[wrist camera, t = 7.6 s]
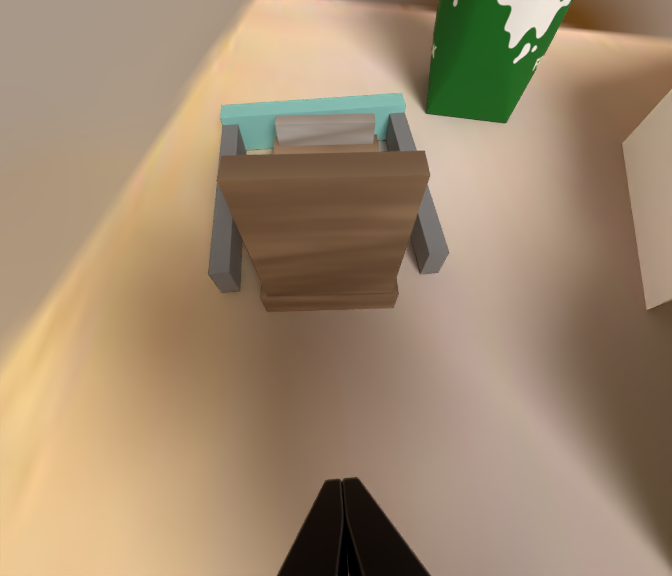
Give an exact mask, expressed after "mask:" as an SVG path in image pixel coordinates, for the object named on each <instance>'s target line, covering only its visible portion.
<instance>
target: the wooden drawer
mask: <svg viewBox="0 0 672 576" xmlns="http://www.w3.org/2000/svg"><path fill="white" fill-rule="evenodd" d="M275 127H276V132H277V137H275V139H274V151H273V154H269V155H229V156H221V161H220V166H219V171H218V176H217V182H218V185H219V187H220V189H221V191H222V194H223V196H224V198H225V201H226V203H227V205H228V207H229V210H230V212H231V214H232V216H233V219H234V221H235V223H236V226H237V228H238V230H239V232H240V235H241V237H242V239H243V241H244V244H245V246H246V248H247V251H248V253H249V255H250V257H251V260H252V262H253V264H254V266H255V269H256V271H257V273H258V276H259V278H260V280H261V282H262V287H261V300H262V302H263V304H264V306H265V308H266V310H267V312H278V311H311V310H344V309H377V308H393V307H394V305H395V302H396V299H397V297H398V294H399V293H398V286H397V278H396V277H397V274H398V271H399V268H400V265H401V262H402V259H403V256H404V253H405V250H406V247H407V244H408V241H409V238H410V235H411V232H412V229H413V226H414V223H415V220H416V217H417V214H418V211H419V208H420V205H421V202H422V199H423V196H424V192H425V189H426V186H427V183H428V180H429V177H430V172H429V167H428V163H427V159H426V154H425V151H389V152H379V146H378V138H377V134H374V131H375V115H374V113H369V114H327V115H285V116H276V119H275Z"/></svg>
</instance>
